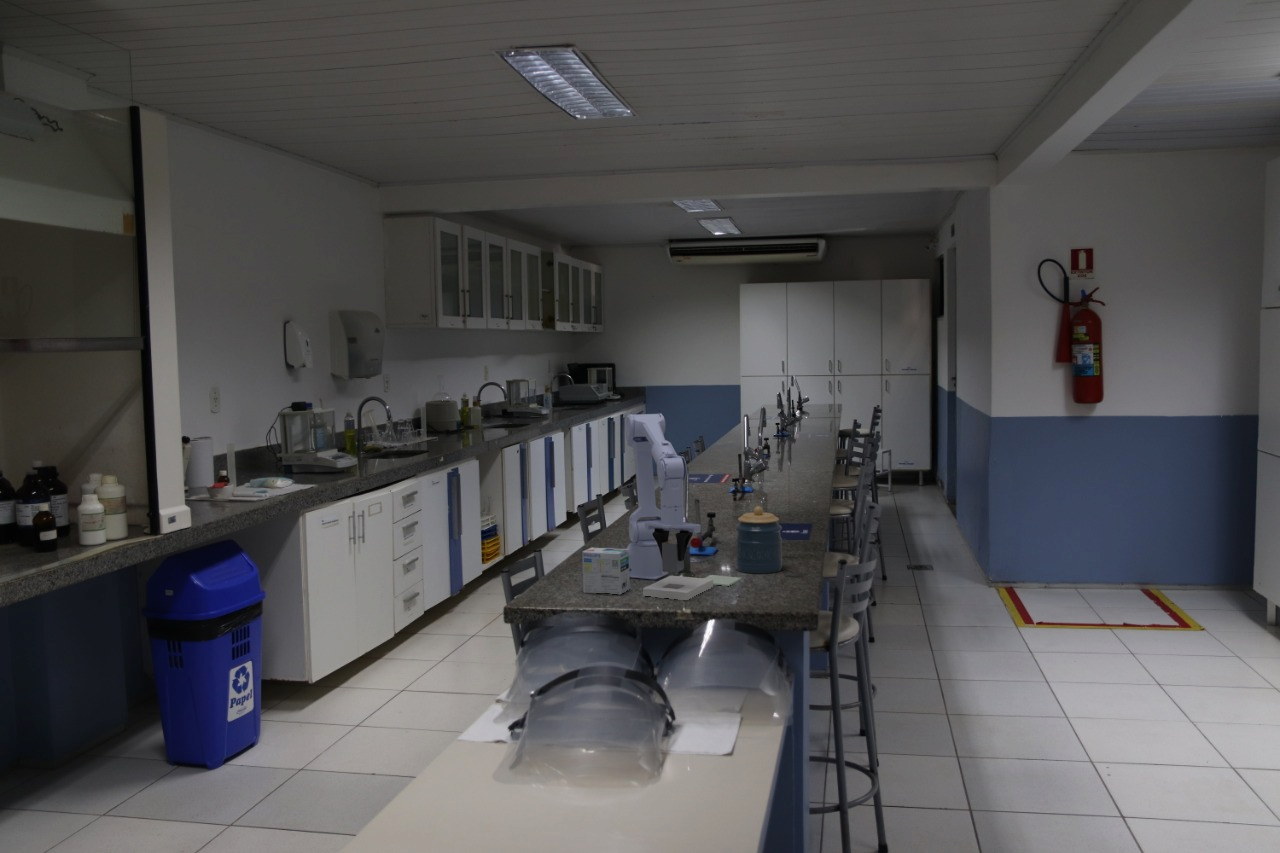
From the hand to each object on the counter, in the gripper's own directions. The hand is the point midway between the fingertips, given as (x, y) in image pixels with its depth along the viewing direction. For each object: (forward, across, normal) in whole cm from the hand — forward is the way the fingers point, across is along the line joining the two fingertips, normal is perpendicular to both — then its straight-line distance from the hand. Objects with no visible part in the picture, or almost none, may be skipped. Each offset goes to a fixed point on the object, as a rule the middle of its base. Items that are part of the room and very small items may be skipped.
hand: (672, 559), depth 252 cm
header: (+9, 0, +3) cm, 9 cm away
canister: (+9, +9, +36) cm, 38 cm away
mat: (+9, +5, +18) cm, 20 cm away
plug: (+3, 0, 0) cm, 3 cm away
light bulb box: (+9, -17, -4) cm, 20 cm away
